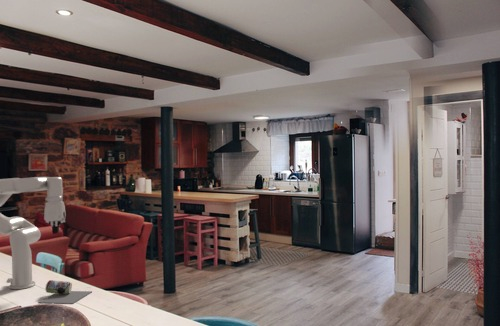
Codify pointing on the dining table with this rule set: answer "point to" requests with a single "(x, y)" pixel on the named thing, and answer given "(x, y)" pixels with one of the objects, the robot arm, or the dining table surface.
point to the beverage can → (58, 287)
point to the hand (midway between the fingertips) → (55, 233)
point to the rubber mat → (65, 297)
